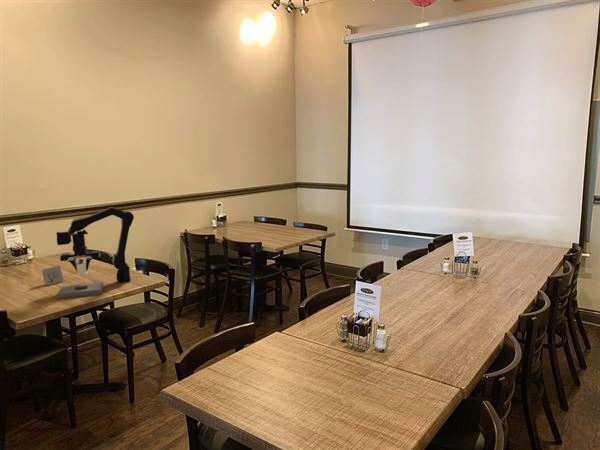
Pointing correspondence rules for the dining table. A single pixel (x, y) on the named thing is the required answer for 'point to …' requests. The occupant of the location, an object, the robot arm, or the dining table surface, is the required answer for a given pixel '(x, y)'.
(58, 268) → the electrical switch
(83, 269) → the plug
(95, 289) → the socket plate
